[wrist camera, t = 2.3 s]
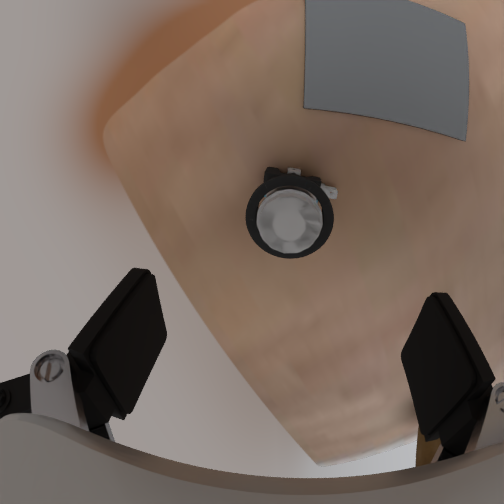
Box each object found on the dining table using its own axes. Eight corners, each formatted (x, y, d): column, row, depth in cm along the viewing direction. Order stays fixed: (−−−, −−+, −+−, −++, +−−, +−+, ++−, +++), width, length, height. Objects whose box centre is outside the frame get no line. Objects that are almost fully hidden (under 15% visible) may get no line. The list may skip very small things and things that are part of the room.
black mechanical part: (340, 163, 23) (367, 194, 14) (328, 218, 25) (344, 275, 17) (265, 150, 23) (247, 173, 15) (258, 206, 26) (239, 258, 17)
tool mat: (461, 25, 13) (465, 23, 12) (461, 140, 19) (465, 141, 19) (305, -17, 15) (305, -20, 14) (303, 108, 21) (303, 107, 20)
